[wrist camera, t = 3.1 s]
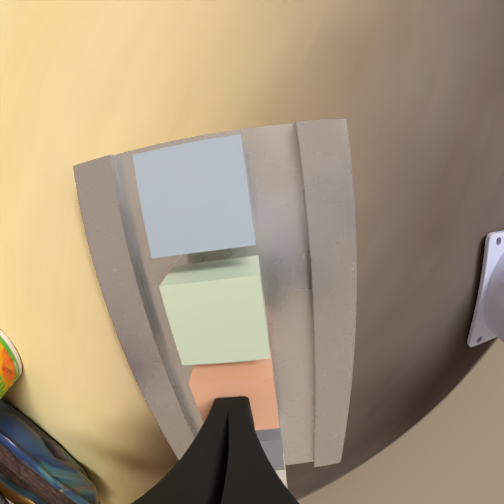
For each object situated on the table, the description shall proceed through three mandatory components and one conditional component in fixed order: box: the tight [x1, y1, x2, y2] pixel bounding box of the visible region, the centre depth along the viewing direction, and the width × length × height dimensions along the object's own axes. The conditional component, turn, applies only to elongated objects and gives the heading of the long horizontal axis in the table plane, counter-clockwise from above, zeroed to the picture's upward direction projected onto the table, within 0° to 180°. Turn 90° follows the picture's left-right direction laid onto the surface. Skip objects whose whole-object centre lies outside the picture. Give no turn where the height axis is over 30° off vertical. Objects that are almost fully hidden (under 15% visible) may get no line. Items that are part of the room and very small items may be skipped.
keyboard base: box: [73, 119, 357, 467], centre depth 15 cm, size 12×22×2 cm, turn 8°
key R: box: [255, 412, 285, 471], centre depth 14 cm, size 3×3×2 cm
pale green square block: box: [159, 255, 271, 365], centre depth 11 cm, size 3×3×2 cm
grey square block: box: [133, 134, 256, 258], centre depth 10 cm, size 3×3×2 cm
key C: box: [189, 348, 279, 430], centre depth 12 cm, size 3×3×2 cm
